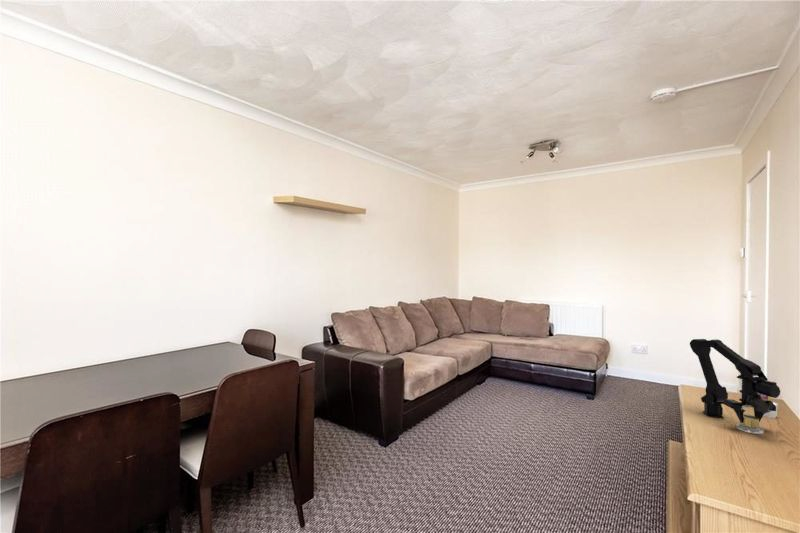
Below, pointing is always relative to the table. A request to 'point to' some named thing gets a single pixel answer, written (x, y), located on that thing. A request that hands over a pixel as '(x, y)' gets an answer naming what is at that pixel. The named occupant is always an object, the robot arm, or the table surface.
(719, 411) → the robot arm
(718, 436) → the table surface
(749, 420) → the collar
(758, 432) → the hub
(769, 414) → the white cup
